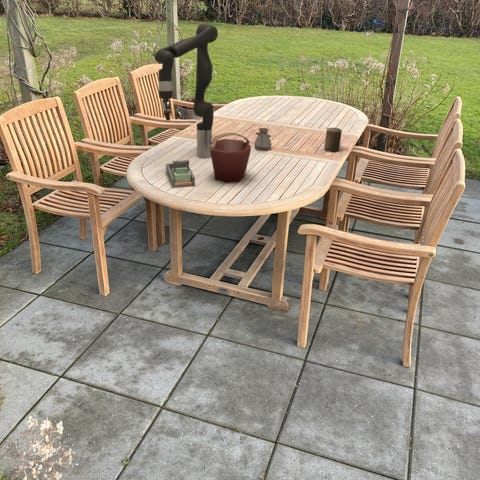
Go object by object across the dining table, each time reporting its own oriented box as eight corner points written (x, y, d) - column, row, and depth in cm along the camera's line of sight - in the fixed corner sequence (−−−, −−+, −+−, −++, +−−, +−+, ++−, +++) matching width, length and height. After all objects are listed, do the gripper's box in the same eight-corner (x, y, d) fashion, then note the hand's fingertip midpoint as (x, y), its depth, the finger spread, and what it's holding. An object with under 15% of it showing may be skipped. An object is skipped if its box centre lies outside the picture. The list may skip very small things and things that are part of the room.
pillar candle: (337, 153, 323) (341, 130, 316) (322, 151, 326) (325, 128, 318) (340, 148, 331) (343, 126, 324) (325, 146, 334) (328, 124, 327)
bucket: (211, 186, 271) (211, 141, 259) (202, 171, 289) (202, 128, 277) (254, 182, 277) (257, 138, 265) (243, 168, 296) (244, 126, 283)
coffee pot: (257, 144, 333) (258, 122, 326) (273, 147, 330) (275, 124, 322) (246, 154, 316) (246, 131, 308) (263, 157, 312) (264, 134, 305)
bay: (187, 170, 290) (186, 162, 287) (194, 185, 270) (194, 177, 268) (166, 171, 287) (165, 163, 284) (172, 187, 267) (172, 179, 265)
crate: (187, 175, 279) (187, 157, 274) (190, 182, 271) (190, 163, 266) (172, 177, 277) (171, 158, 272) (175, 184, 269) (174, 164, 263)
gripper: (174, 91, 269) (175, 121, 277) (170, 85, 281) (171, 114, 289) (160, 92, 267) (161, 122, 275) (157, 86, 279) (158, 115, 287)
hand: (166, 118), depth 282 cm, fingers open, 8 cm apart
